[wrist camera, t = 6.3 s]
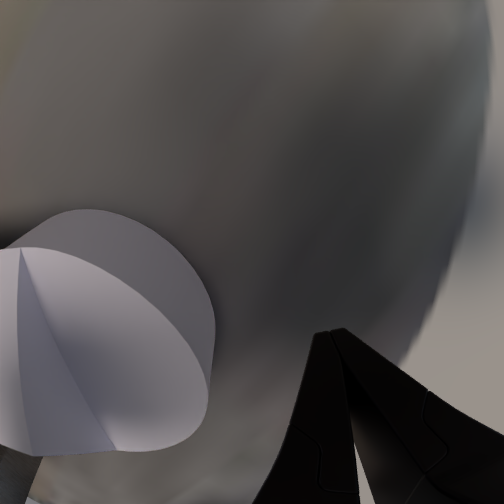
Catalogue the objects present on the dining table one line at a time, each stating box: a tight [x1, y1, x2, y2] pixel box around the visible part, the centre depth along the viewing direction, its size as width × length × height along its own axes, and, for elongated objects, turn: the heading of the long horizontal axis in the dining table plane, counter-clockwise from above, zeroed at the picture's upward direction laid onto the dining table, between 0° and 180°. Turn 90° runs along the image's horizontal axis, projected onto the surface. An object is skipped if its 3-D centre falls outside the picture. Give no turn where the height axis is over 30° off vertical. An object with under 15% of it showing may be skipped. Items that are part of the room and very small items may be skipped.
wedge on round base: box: [0, 209, 215, 456], centre depth 9 cm, size 9×7×13 cm
